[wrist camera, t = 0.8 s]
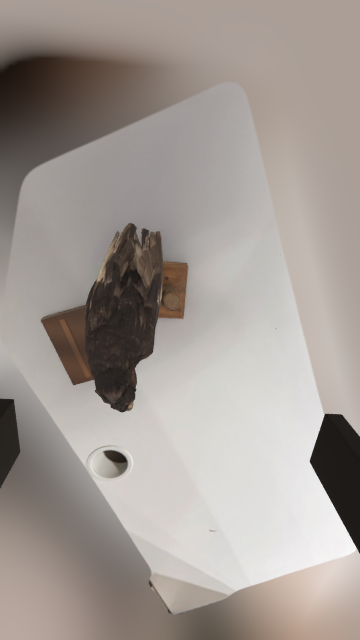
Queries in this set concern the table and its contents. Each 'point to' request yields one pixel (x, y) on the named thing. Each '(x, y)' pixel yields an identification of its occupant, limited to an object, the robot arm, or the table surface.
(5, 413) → the robot arm
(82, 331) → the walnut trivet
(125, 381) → the bird figurine
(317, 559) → the table surface
